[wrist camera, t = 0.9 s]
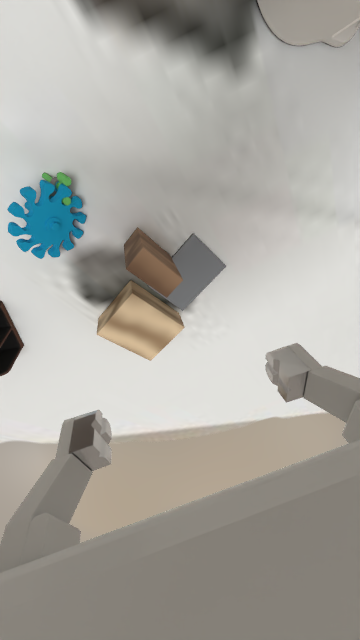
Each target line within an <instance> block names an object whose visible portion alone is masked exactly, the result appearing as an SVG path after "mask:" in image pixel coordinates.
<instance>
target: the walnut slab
mask: <svg viewBox="0 0 360 640" xmlns="http://www.w3.org/2000/svg"><path fill="white" fill-rule="evenodd" d="M124 251H125V264H126V269H127V270H128V271H130V272H131V273H132V274H134V275H135V276H137V277H138V278H139V279H141V280H142V281H144V282H145V283H146V284H148V285H149V286H151V287H152V288H153V289H155V290H156V291H158V292H159V293H161V294H162V295H163V296H165V297H166V298H167V297H168V296H169V295H170V294H171V293H172V292H173V290H174V289H175V288H176V287H177V286H178V285H179V284H180V283H181V282H182V281H183V278H182V277H181V275H180V273H179V271H178V269H177V267H176V265H175V263H174V262H173V260H172V258H171V256H170V255H169V254H168V253H167V252H166V251H165V250H163V249H162V248H161V247H160V246H159V245H157V244H156V243H155V242H154V241H153V240H152V239H150V238H149V237H148V236H147V235H146V234H145V233H143V232H142V231H141V230H140V229H139V228H138V227H137V229H136V230H135V231H134V233H133V234H132V235H131V236H130V238H129V239H128V240H127V242H126V243H125V244H124Z"/></svg>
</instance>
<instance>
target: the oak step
mask: <svg viewBox="0 0 360 640" xmlns="http://www.w3.org/2000/svg"><path fill="white" fill-rule="evenodd" d="M184 328H185V327H184V325H183V322H182V320H181V317H180V315H179V313H178V312H177V311H175V310H174V309H172V308H171V307H169V306H168V305H167V304H165V303H164V302H162V301H161V300H159V299H158V298H156V297H155V296H154V295H152V294H151V293H149V292H148V291H146V290H145V289H143V288H142V287H140V286H139V285H138V284H136V283H135V282H133V281H132V280H130V281H129V283H128V284H127V285H126V286H125V287H124V289H123V290H122V291H121V292H120V293H119V294H118V296H117V297H116V298H115V299H114V300H113V302H112V303H111V304H110V305H109V306H108V308H107V309H106V310H105V311H104V312H103V314H102V315H101V316H100V317H99V319H98V327H97V335H99V336H101V337H103V338H105V339H107V340H109V341H111V342H113V343H115V344H117V345H119V346H121V347H123V348H125V349H127V350H129V351H132V352H134V353H136V354H138V355H140V356H142V357H144V358H146V359H148V360H150V361H151V360H152V359H153V358H154V357H155V356H156V355H157V354H158V353H159V352H160V351H161V350H162V349H163V348H164V347H165V346H166V345H167V344H168V343H169V342H170V341H171V340H172V339H173V338H174V337H175V336H176V335H177V334H178V333H179V332H180V331H182V330H183V329H184Z"/></svg>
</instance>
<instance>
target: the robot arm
mask: <svg viewBox="0 0 360 640" xmlns="http://www.w3.org/2000/svg"><path fill="white" fill-rule="evenodd" d="M257 1H258V4H259V7H260V10H261V13H262V15H263V17H264V19H265V21H266V23H267V25H268V26H269V28H270V29H271V30H272V32H273V33H274V34H275V35H276V36H277V37H278V38H280V39H281V40H282V41H284V42H286V43H288V44H291V45H297V46H302V45H308V44H312V43H315V42H325V43H327V44H329V45H331V46H334V47H341V46H343V45H344V44H346V43H347V42H348V41H350V39H351V38H352V37H353V36H354V34H355V33H356V31H357V30H358V28H359V26H360V0H257ZM266 360H267V361H268V362H267V363H266V365H265V366H266V372H267V375H268V377H269V379H270V381H271V382H272V383H273V384H275V385H277V386H278V392H279V393H280V395H281V396H282V397H283V399H284V400H285V401H286V402H289V401H292V400H295V399H298V398H302V397H304V398H305V399H306V400H308V401H310V402H311V403H313V404H315V405H317V406H318V407H320V408H322V409H324V410H325V411H327V412H329V413H330V414H332V415H334V416H336V417H337V418H339V419H341V420H342V421H344V422H346V425H345V428H344V430H343V433H342V435H343V437H344V438H345V439H346V440H347V442H348V443H349V444H347V445H344V446H341V447H338V448H336V449H333V450H330V451H327V452H325V453H322V454H319V455H317V456H314V457H311V458H309V459H306V460H303V461H301V462H298V463H296V464H292V465H290V466H287V467H284V468H282V469H279V470H276V471H273V472H271V473H268V474H266V475H263V476H261V477H257V478H255V479H252V480H249V481H246V482H244V483H241V484H238V485H236V486H233V487H230V488H228V489H225V490H222V491H220V492H217V493H214V494H212V495H209V496H206V497H203V498H201V499H198V500H195V501H192V502H190V503H187V504H184V505H182V506H179V507H176V508H174V509H171V510H169V511H166V512H163V513H160V514H158V515H155V516H152V517H150V518H147V519H144V520H141V521H139V522H136V523H133V524H130V525H128V526H125V527H122V528H120V529H117V530H114V531H112V532H109V533H106V534H104V535H101V536H98V537H96V538H93V539H90V540H87V541H85V542H82V543H80V534H81V531H80V530H79V529H78V528H76V527H74V526H72V525H70V524H69V522H70V520H71V518H72V516H73V514H74V512H75V509H76V507H77V505H78V503H79V501H80V499H81V496H82V494H83V492H84V490H85V488H86V486H87V484H88V481H89V479H90V477H91V475H92V471H94V470H97V469H99V468H102V467H104V466H107V465H110V464H111V448H110V446H109V445H108V444H109V442H110V440H111V427H110V424H109V422H108V420H107V419H105V418H102V413H101V411H100V410H96V411H93V412H90V413H87V414H83V415H80V416H77V417H74V418H71V419H67V420H65V421H64V422H63V424H62V428H61V433H60V438H59V443H58V448H57V453H56V458H55V459H53V460H52V461H51V462H50V463H49V465H48V466H47V468H46V469H45V471H44V472H43V474H42V475H41V477H40V478H39V479H38V481H37V482H36V483H35V485H34V486H33V488H32V489H31V491H30V492H29V493H28V495H27V496H26V498H25V499H24V501H23V502H22V503H21V505H20V506H19V508H18V509H17V511H16V512H15V513H14V515H13V516H12V518H11V519H10V521H9V522H8V524H7V525H6V527H5V531H4V534H3V537H2V541H1V544H0V640H360V378H357V377H355V376H352V375H349V374H347V373H344V372H341V371H339V370H336V369H333V368H330V367H328V366H323V367H322V366H321V365H320V364H319V363H318V362H317V361H316V360H315V359H314V358H313V357H312V356H311V355H310V354H309V353H308V352H307V351H306V350H305V349H304V348H303V347H302V346H301V345H300V344H298V343H295V344H292V345H289V346H286V347H282V348H279V349H277V350H274V351H271V352H268V353H267V354H266Z"/></svg>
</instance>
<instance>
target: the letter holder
mask: <svg viewBox="0 0 360 640" xmlns="http://www.w3.org/2000/svg"><path fill="white" fill-rule="evenodd" d="M23 346H24V344H23V343H22V341H21V339H20V337H19V335H18V333H17V331H16V329H15V327H14V325H13V322H12V320H11V318H10V316H9V314H8V312H7V310H6V308H5V306H4V304H3V303H2V301H0V376H2V375H5V374H7V373H8V372H9V371H10V370H11V368H12V366H13V364H14V362H15V360H16V359H17V357H18V355H19V353H20V351H21V349H22V348H23Z"/></svg>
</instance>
